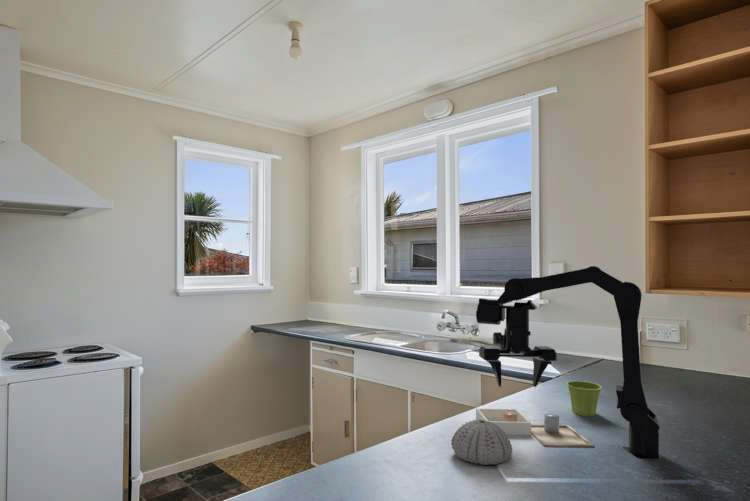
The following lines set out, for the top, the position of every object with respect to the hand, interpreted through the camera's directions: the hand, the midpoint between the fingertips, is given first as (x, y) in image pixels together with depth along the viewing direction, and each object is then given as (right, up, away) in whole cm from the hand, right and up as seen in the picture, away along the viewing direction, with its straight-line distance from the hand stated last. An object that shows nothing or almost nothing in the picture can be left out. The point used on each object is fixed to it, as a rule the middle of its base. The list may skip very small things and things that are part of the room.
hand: (517, 386), depth 121 cm
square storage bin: (-3, -12, +2) cm, 12 cm away
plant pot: (+24, -13, +15) cm, 31 cm away
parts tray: (+9, -12, -4) cm, 15 cm away
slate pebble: (+9, -11, -1) cm, 14 cm away
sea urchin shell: (-13, -11, -17) cm, 24 cm away
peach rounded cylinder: (-2, -11, 0) cm, 11 cm away
